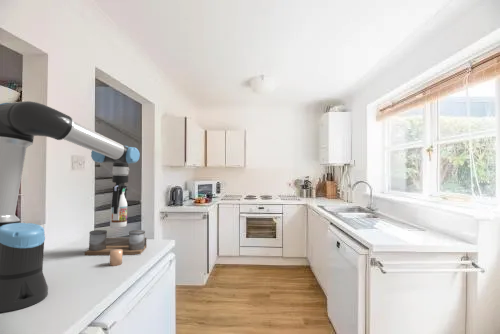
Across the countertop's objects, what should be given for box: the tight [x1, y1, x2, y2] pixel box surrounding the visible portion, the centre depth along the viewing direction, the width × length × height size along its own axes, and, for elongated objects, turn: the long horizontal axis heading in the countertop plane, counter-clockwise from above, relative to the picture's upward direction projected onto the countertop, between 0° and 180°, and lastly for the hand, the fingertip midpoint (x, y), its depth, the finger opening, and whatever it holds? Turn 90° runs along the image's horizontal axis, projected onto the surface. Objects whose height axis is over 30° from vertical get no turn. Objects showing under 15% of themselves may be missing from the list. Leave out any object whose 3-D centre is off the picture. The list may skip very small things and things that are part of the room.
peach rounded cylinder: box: [109, 249, 123, 267], centre depth 118 cm, size 5×5×6 cm
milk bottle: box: [109, 188, 128, 229], centre depth 137 cm, size 8×8×20 cm
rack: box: [84, 229, 148, 256], centre depth 137 cm, size 13×27×10 cm, turn 98°
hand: (118, 218), depth 137 cm, fingers closed on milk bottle, 8 cm apart
